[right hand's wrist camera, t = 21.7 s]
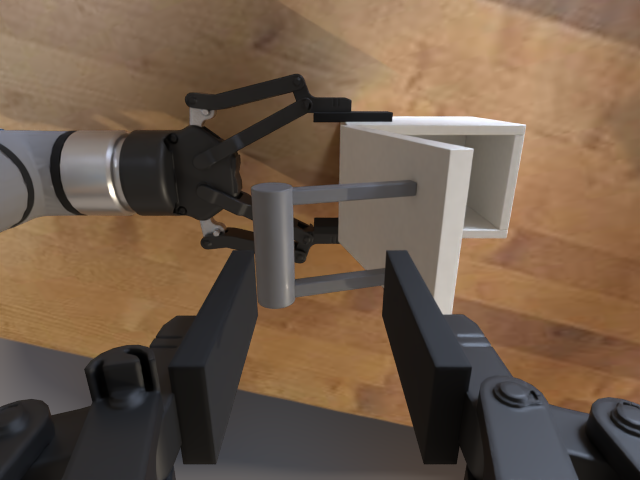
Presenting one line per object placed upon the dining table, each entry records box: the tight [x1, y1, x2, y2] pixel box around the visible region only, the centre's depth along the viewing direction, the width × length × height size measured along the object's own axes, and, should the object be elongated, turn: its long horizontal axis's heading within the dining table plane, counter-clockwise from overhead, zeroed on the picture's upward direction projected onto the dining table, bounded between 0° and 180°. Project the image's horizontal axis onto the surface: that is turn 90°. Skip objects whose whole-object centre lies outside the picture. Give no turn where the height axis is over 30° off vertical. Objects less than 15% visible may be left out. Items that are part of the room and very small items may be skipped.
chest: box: [340, 117, 526, 238], centre depth 37 cm, size 14×9×11 cm
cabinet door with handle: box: [251, 125, 474, 314], centre depth 23 cm, size 14×9×9 cm
